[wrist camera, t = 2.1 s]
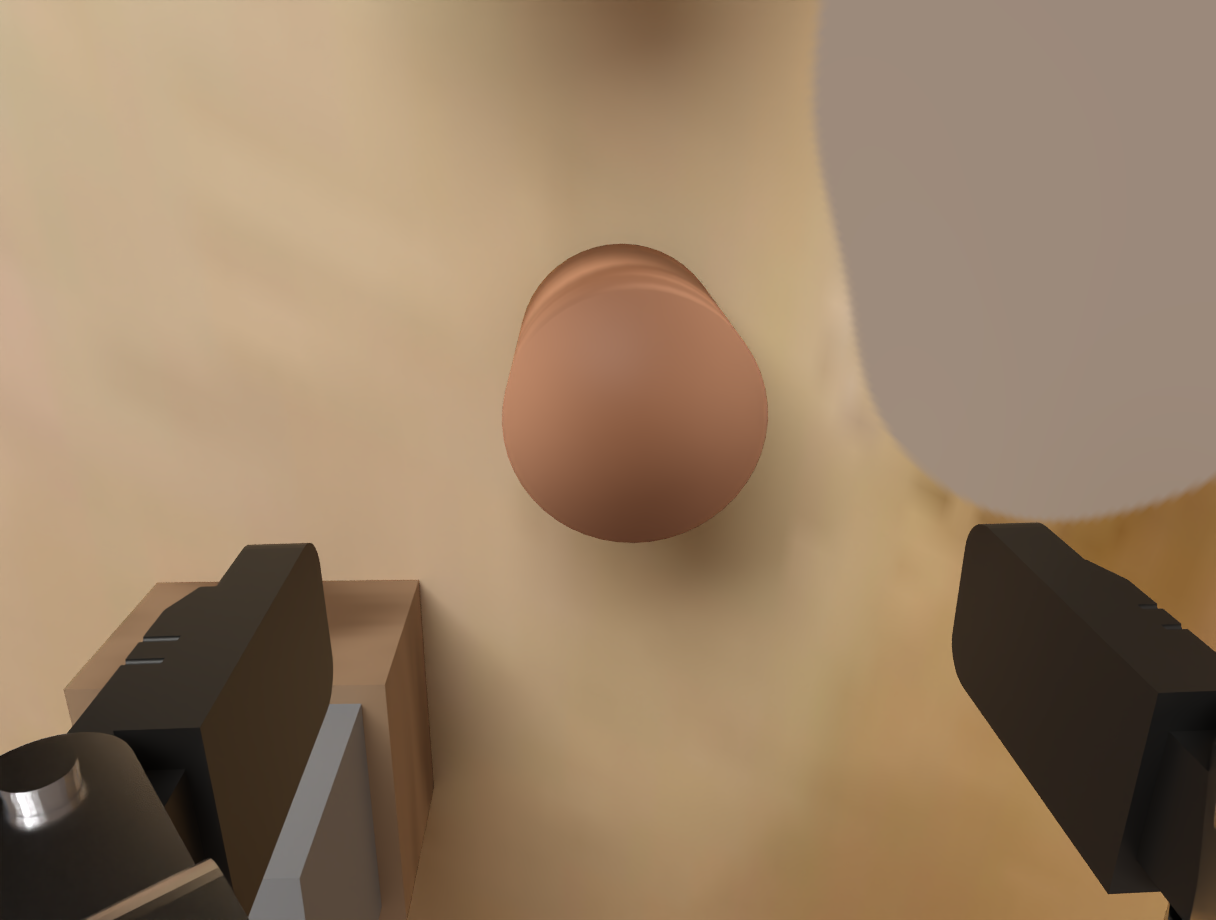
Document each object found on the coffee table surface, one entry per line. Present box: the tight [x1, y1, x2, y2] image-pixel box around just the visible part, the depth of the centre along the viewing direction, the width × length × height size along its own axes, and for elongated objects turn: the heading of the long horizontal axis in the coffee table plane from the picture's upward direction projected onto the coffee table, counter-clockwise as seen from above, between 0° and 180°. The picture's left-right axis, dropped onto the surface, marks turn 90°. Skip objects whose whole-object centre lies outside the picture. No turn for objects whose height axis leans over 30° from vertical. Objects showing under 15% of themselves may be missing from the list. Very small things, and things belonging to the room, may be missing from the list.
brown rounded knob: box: [502, 244, 768, 543], centre depth 20 cm, size 5×5×6 cm
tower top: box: [68, 704, 382, 920], centre depth 19 cm, size 6×6×5 cm
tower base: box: [64, 580, 434, 920], centre depth 24 cm, size 7×7×5 cm
